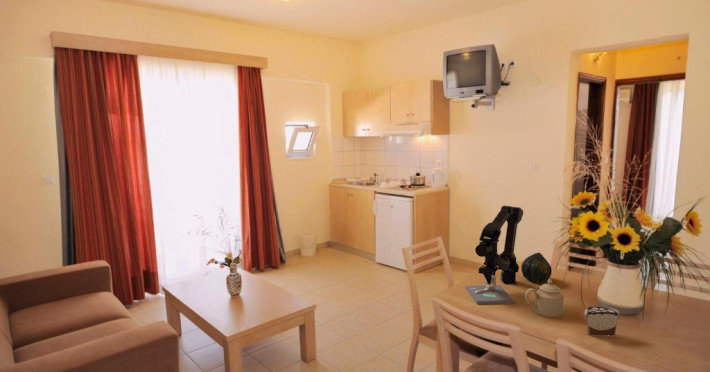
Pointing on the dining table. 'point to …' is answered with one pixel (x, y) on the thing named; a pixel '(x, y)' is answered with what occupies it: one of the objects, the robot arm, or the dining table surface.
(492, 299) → the tuner dial board
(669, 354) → the dining table surface
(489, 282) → the robot arm
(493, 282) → the tuning peg
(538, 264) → the squash
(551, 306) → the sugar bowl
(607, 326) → the food container
